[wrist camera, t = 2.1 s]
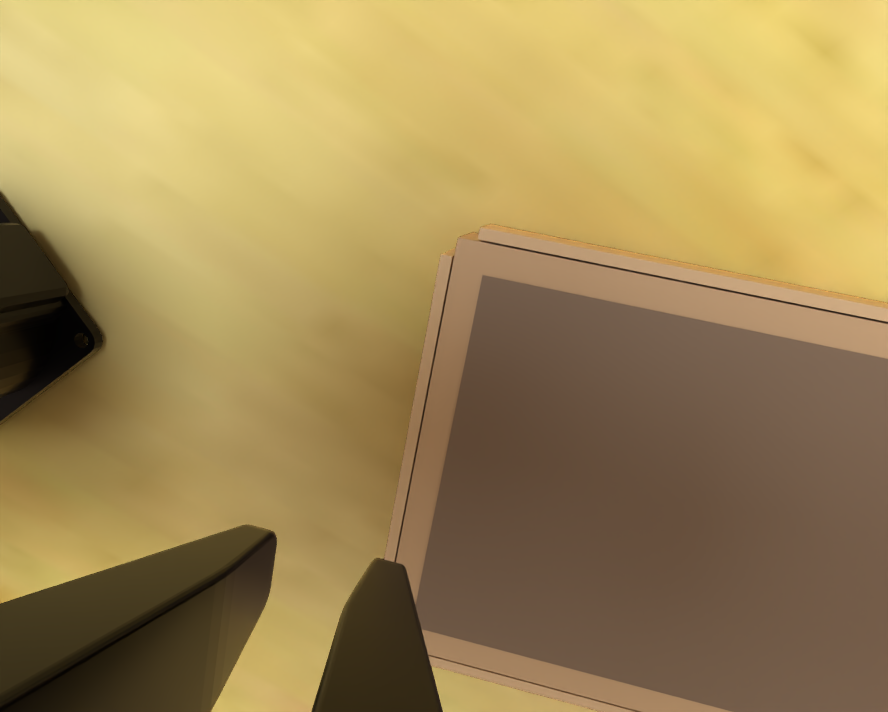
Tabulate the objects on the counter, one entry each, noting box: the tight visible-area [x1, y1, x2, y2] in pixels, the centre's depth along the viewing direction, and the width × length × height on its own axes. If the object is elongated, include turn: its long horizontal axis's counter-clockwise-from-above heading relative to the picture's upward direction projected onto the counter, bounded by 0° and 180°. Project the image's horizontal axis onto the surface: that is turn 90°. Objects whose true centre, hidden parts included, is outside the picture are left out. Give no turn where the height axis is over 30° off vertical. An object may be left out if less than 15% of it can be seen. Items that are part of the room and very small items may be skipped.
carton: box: [384, 224, 888, 712], centre depth 19 cm, size 16×13×4 cm
